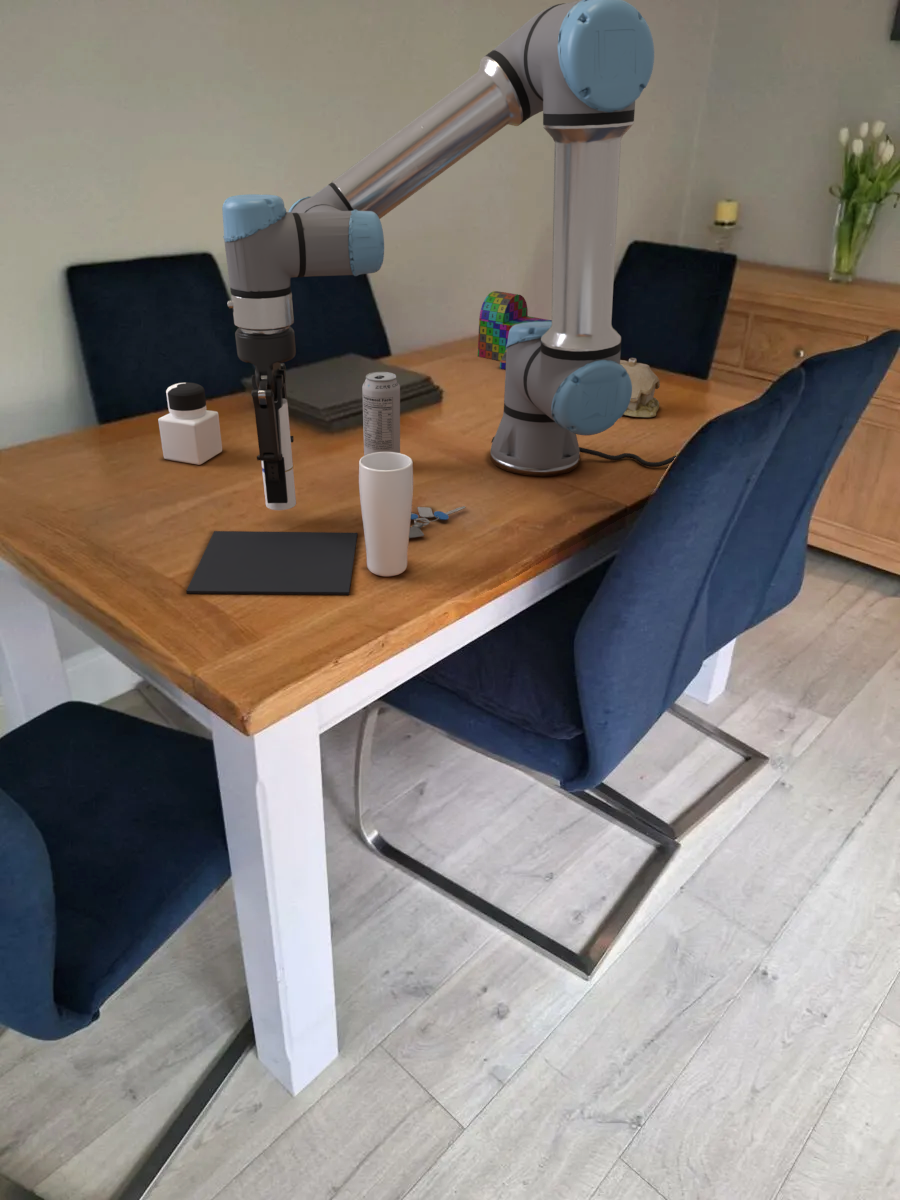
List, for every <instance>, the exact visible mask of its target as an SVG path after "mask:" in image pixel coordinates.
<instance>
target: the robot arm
mask: <svg viewBox="0 0 900 1200" xmlns="http://www.w3.org/2000/svg"><path fill="white" fill-rule="evenodd" d="M642 15H643V14H641V12H640V11H639V10H638V9H637V8H636V7H635V6H634V5H632V4H631V3H629V2H627V1H626V0H576V1H571V2H567V3H565V2H563V3H558V4H554V5H551V6H548V7H546V8H545V9H543V10H541V11H540V12H538V13H537V14H535V15H534V16H532V17H531V18H530V19H529V20H527V21H526V22H525V23H523V24H522V25H521V26H520V27H519V28H517V29H516V30H514V32H512V34H510V35H509V36H508V37H507V38H505V39H504V40H503V41H502V42H501V43H499V44H498V45H497V46H496V47H495V48H494V49H492V50H491V51H489V52H488V53H487V54H486V55H484V56H483V57H482V58H480V61H479V66H478V70H477V72H475V73H474V74H472V75H471V76H470V77H469V78H468V79H466V80H464V82H462V83H461V84H459V85H458V86H457V87H455V88H454V89H453V90H451V91H450V92H449V93H447V94H446V95H445V96H443V97H442V98H441V99H440V100H438V101H437V102H436V103H434V104H433V105H432V106H430V107H429V108H428V109H426V110H424V111H423V112H422V113H421V114H419V115H418V116H417V117H416V118H414V119H413V120H412V121H410V122H409V123H408V124H406V125H405V126H404V127H402V128H401V129H400V130H399V131H398V130H397V132H396V133H394V134H393V135H392V136H391V137H389V138H388V139H386V140H385V141H384V142H382V143H381V144H380V145H379V146H377V147H376V148H375V149H373V150H372V151H370V152H369V153H368V154H366V155H365V156H364V157H363V158H361V159H360V160H359V161H357V162H356V163H355V164H353V165H352V166H351V167H349V168H348V169H346V170H345V171H344V172H342V173H341V174H340V175H339V176H337V177H336V178H334V180H332V181H331V182H330V183H328V184H327V185H326V186H323V188H321V189H320V190H318V191H317V192H316V193H315V194H313V195H312V196H305V197H302V198H300V199H298V200H296V201H295V202H294V203H293V204H292V205H291V206H290V208H289V209H288V211H287V209H286V208H285V202H284V200H283V198H282V197H281V196H279V195H275V194H255V193H254V194H253V193H249V194H236V195H232V196H229V197H227V198H226V199H225V200H224V202H223V204H222V223H223V225H222V226H223V237H222V238H223V243H224V250H225V259H226V266H227V273H228V281H229V282H228V283H229V288H230V289H229V291H230V294H231V296H230V297H231V299H230V300H227V307H228V308H229V309H233V312H232V315H233V324H234V326H235V327H237V329H236V331H235V332H234V336H235V345H236V353H237V354H236V355H237V358H238V359H239V360H240V361H242V362H244V363H247V364H252V365H253V366H255V367H254V368H255V369H254V374H251V387H252V388H253V389H252V390H251V397H252V402H253V407H254V415H255V425H256V434H257V435H256V436H257V442H258V452H259V454H258V455H257V456H256V460H257V461H260V462H261V461H263V463H264V473H265V482H266V492H267V502H268V503H287V502H288V497H287V486H286V475H285V464H284V457H282V451H281V433H280V416H279V409H280V408H281V407H282V406H283V401H282V398H285V399H286V400H287V401H288V396H287V383H286V382H287V381H286V380H287V372H286V369H287V368H286V364H285V363H286V362H288V361H291V360H293V359H294V358H295V357H296V355H297V354H296V353H297V350H296V338H295V329H293V327H292V325H293V324H294V323H295V319H294V318H295V317H294V307H293V293H292V288H291V279H292V278H307V277H309V278H310V277H334V276H335V277H336V276H337V277H338V276H354V277H358V276H359V275H366V274H374V273H378V272H379V271H380V270H381V268H382V266H383V264H384V259H385V258H384V257H385V237H384V230H383V225H382V222H381V219H382V218H383V217H385V216H387V215H388V214H389V213H391V212H392V211H393V210H394V209H396V208H397V207H399V205H401V204H402V203H404V202H406V201H407V200H408V199H409V198H410V197H412V196H414V195H415V194H416V193H417V192H419V191H420V190H421V189H423V188H424V187H425V186H427V185H428V184H429V183H430V182H432V181H433V180H435V179H436V178H438V177H439V176H441V174H443V173H444V172H446V171H447V170H448V169H450V168H451V167H452V166H454V165H455V164H456V163H458V162H459V161H460V160H462V159H464V157H466V156H467V155H468V154H470V153H471V152H472V151H474V150H475V149H476V148H478V147H479V146H481V145H482V144H483V143H484V142H486V141H487V140H488V139H490V138H492V137H493V136H494V135H495V134H497V133H498V132H499V131H501V130H502V129H503V128H505V127H507V125H509V126H513V127H520V126H521V125H522V124H523V123H524V122H526V121H527V120H528V119H530V118H532V117H533V116H535V115H537V114H539V113H542V128H543V129H544V130H545V131H546V132H547V134H548V135H549V136H550V137H551V138H552V140H553V142H554V143H553V144H554V150H553V155H554V156H553V207H552V209H553V211H552V212H553V213H552V217H553V218H552V273H551V275H552V276H551V279H552V280H551V281H552V282H551V320H552V322H527V323H520V324H516V325H514V326H512V327H511V329H510V330H509V334H508V341H507V345H506V349H507V354H506V369H505V374H504V375H505V376H504V396H503V398H504V399H503V412H502V417H501V419H500V422H499V425H498V427H497V430H496V433H495V435H494V436H493V437H492V439H491V442H490V443H491V445H490V450H489V451H490V454H489V459H490V462H491V463H492V464H493V465H494V466H496V467H498V468H500V469H501V470H503V471H506V472H509V473H513V474H517V475H522V476H523V475H524V476H529V477H551V476H558V475H563V474H567V473H569V472H572V471H574V470H576V469H577V468H578V467H579V465H580V460H581V459H580V458H581V453H583V454H587V455H590V456H596V457H599V458H602V459H604V460H605V459H606V460H609V461H621V460H623V459H631V460H634V461H636V462H638V463H639V464H640V465H642V466H644V467H646V468H647V467H648V468H660V467H664V466H666V465H669V464H672V463H673V462H672V461H673V460H674V458H675V457H676V455H677V454H675V455H673V456H671V457H669V458H667V459H664V460H661V461H647V460H645V459H643V458H641V456H639V455H637V454H635V453H630V452H623V453H621V454H616V455H613V454H608V453H604V452H601V451H598V450H594V449H590V448H585V447H581V446H579V445H580V444H579V440H578V437H577V435H578V436H594V435H597V434H601V433H603V432H605V431H607V430H609V429H610V428H611V427H613V426H614V425H615V423H616V422H617V421H618V420H619V419H621V418H622V417H623V416H624V415H623V414H624V413H625V411H626V409H627V407H628V405H629V403H630V399H631V395H632V383H631V379H630V376H629V375H628V373H627V371H626V369H625V368H624V367H623V366H622V365H620V360H621V353H622V336H621V335H620V333H618V331H617V330H616V329H615V328H614V327H613V325H612V318H613V302H614V301H613V300H614V299H613V297H614V281H615V261H616V245H617V243H616V242H617V223H618V221H617V220H618V206H619V205H618V200H619V184H620V167H621V166H620V165H621V149H622V148H621V147H622V146H621V145H622V139H623V138H624V135H625V134H626V133H627V132H628V131H629V130H630V129H631V128H632V126H634V124H635V113H636V111H635V110H636V101H637V100H638V99H639V98H640V96H641V94H642V93H643V91H644V89H647V87H648V84H649V82H650V80H651V77H652V74H653V71H654V64H655V45H654V39H653V35H652V34H653V33H652V32H651V28H650V26H649V24H648V22H647V21H646V18H644V17H643V16H642ZM274 401H277V402H274ZM290 438H291V443H294V441H295V440H294V439H295V438H294V435H290Z"/></svg>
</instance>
